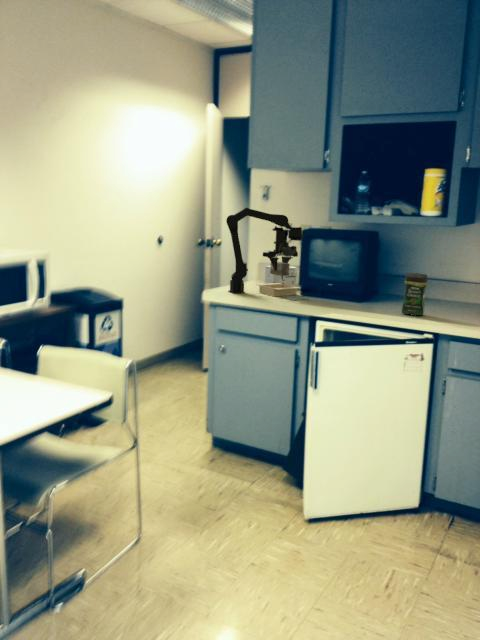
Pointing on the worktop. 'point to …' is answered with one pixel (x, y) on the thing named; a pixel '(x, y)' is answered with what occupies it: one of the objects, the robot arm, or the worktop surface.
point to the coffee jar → (414, 294)
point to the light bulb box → (270, 276)
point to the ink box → (290, 277)
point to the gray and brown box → (280, 269)
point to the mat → (295, 298)
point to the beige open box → (277, 289)
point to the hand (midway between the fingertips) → (279, 270)
